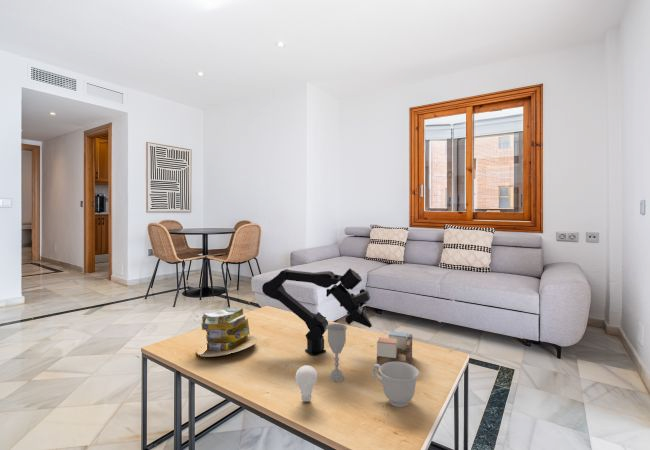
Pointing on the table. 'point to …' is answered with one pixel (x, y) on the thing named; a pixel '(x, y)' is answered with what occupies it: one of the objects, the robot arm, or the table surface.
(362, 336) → the table surface
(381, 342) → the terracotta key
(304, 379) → the light bulb
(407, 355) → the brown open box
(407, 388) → the teacup
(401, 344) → the slate key
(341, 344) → the chalice
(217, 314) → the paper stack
